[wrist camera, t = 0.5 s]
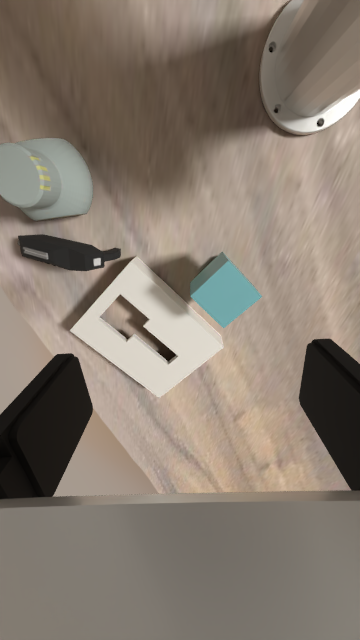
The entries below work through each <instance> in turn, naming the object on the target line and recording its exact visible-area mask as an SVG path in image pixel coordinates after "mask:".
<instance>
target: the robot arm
mask: <svg viewBox="0 0 360 640" xmlns="http://www.w3.org/2000/svg"><path fill="white" fill-rule="evenodd" d="M269 49H271V50H272V53H271V52H269ZM259 87H260V93H261V98H262V102H263V104H264V107H265V110H266V112H267V113H268V115H269V117H270V118H271V120H272V121H273V122H274V123H275V124H276V125H277V126H278V127H280V128H281V129H283V130H284V131H286V132H289V133H292V134H296V135H308V134H314V133H317V132H320V131H322V130H325V129H326V128H328V127H330V126H332V125H334V124H335V123H336V122H338V121H339V120H340V119H342V118H343V117H344V116H345V115H346V114H347V113H348V112H349V111H350V110H351V109H352V108H353V107H354V106H355V104H356V103H357V102H358V100H359V99H360V0H291V1H290V2H289V3H288V4H287V5H286V6H285V8H284V9H283V11H282V12H281V14H280V15H279V17H278V18H277V19H276V21H275V23H274V25H273V27H272V29H271V31H270V34H269V36H268V38H267V41H266V43H265V46H264V50H263V54H262V58H261V63H260V71H259ZM274 109H276V110H277V113H275V112H274ZM317 123H319V126H317ZM299 401H300V405H301V407H302V408H303V410H304V412H305V413H306V415H307V417H308V418H309V420H310V422H311V423H312V425H313V427H314V428H315V430H316V432H317V433H318V435H319V437H320V439H321V440H322V442H323V444H324V445H325V447H326V449H327V450H328V452H329V454H330V455H331V457H332V459H333V460H334V462H335V464H336V465H337V467H338V469H339V470H340V472H341V474H342V475H343V477H344V479H345V480H346V482H347V484H348V485H349V487H350V489H351V490H352V491H280V492H225V493H178V494H137V495H136V494H135V495H101V496H100V495H99V496H68V497H67V496H66V497H52V496H53V495H54V493H55V491H56V489H57V487H58V485H59V482H60V480H61V478H62V476H63V474H64V472H65V470H66V468H67V466H68V463H69V461H70V459H71V457H72V455H73V453H74V451H75V449H76V447H77V445H78V442H79V440H80V438H81V436H82V434H83V432H84V430H85V428H86V425H87V423H88V421H89V419H90V417H91V415H92V411H93V406H92V402H91V399H90V396H89V393H88V389H87V386H86V383H85V379H84V376H83V373H82V369H81V366H80V363H79V359H78V358H77V357H74V355H73V354H71V353H70V354H57V355H56V356H55V357H54V358H53V359H52V360H51V361H50V362H49V363H48V364H47V365H46V366H45V367H44V368H43V369H42V371H41V372H40V373H39V374H38V375H37V376H36V377H35V378H34V379H33V380H32V381H31V382H30V383H29V385H28V386H27V387H26V388H25V389H24V390H23V391H22V392H21V393H20V394H19V395H18V396H17V397H16V399H15V400H14V401H13V402H12V403H11V404H10V405H9V406H8V407H7V408H6V409H5V410H4V411H3V412H2V414H1V415H0V640H360V364H359V363H358V362H357V361H356V360H354V359H353V358H352V357H351V356H350V355H349V354H347V353H346V352H345V351H344V350H343V349H342V348H341V347H339V346H338V345H337V344H336V343H335V342H334V341H332V340H331V339H314V340H312V342H311V343H309V344H308V345H307V349H306V355H305V362H304V368H303V375H302V381H301V388H300V394H299Z"/></svg>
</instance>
